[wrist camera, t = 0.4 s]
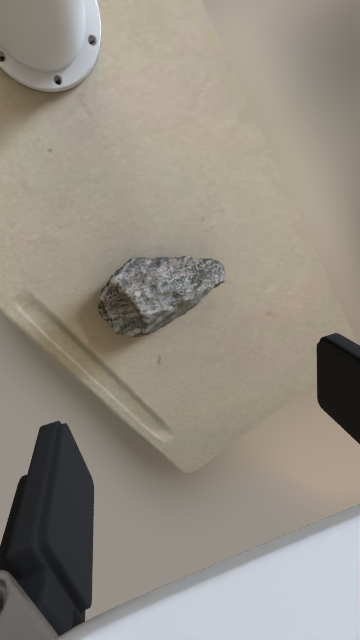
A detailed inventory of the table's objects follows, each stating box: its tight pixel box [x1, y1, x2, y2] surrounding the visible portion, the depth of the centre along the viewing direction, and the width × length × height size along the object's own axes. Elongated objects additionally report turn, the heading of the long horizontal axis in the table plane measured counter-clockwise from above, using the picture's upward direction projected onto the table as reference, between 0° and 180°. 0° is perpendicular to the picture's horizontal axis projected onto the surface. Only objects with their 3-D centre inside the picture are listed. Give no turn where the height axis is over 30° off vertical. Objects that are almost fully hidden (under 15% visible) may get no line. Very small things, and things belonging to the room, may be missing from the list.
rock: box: [98, 256, 226, 337], centre depth 43 cm, size 18×10×10 cm
